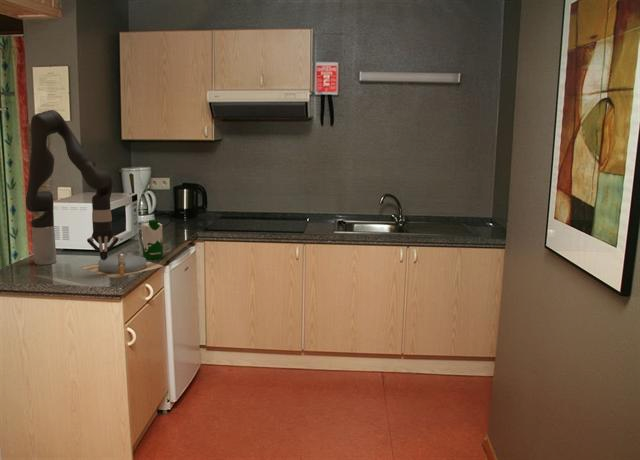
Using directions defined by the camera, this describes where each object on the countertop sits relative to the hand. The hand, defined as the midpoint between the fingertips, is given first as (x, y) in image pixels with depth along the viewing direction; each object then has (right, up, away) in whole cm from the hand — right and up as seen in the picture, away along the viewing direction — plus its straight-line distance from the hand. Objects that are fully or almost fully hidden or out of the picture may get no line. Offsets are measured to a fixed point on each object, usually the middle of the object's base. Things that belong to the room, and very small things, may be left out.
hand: (104, 259), depth 230 cm
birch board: (+3, -5, +13) cm, 14 cm away
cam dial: (+4, -4, +11) cm, 12 cm away
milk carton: (+11, -2, +30) cm, 32 cm away
